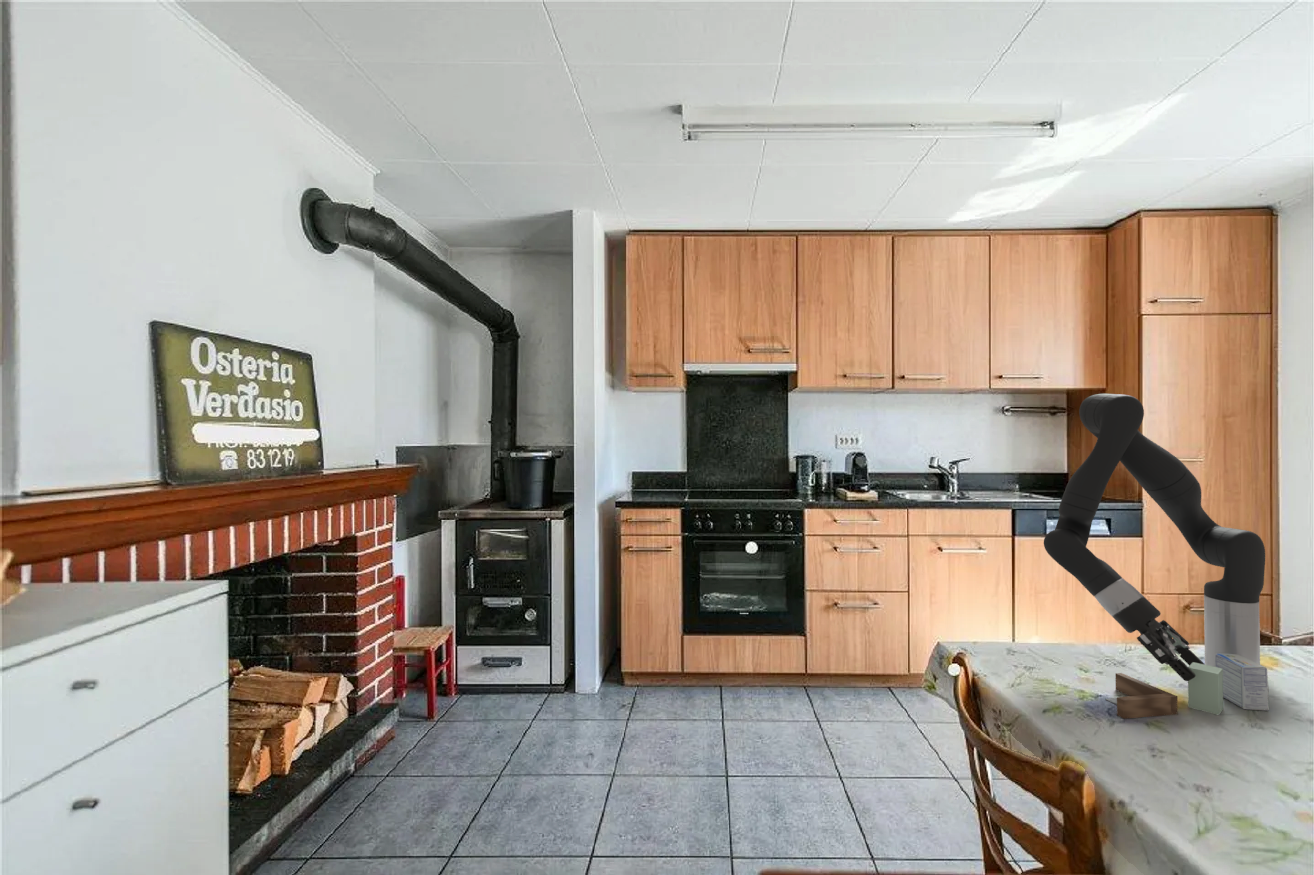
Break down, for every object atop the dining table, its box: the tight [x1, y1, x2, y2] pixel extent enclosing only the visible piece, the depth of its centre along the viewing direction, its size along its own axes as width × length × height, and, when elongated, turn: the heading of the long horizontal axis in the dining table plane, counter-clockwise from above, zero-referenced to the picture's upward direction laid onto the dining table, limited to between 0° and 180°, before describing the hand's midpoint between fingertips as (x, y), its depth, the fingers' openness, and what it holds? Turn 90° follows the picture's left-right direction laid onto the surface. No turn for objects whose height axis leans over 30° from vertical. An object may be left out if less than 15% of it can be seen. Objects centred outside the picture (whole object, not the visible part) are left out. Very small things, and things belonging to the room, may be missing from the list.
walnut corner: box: [1105, 672, 1179, 720], centre depth 123 cm, size 12×12×4 cm
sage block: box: [1187, 662, 1224, 716], centre depth 121 cm, size 4×4×8 cm
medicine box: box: [1215, 654, 1270, 712], centre depth 123 cm, size 8×4×9 cm, turn 168°
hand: (1196, 673), depth 122 cm, fingers open, 8 cm apart
